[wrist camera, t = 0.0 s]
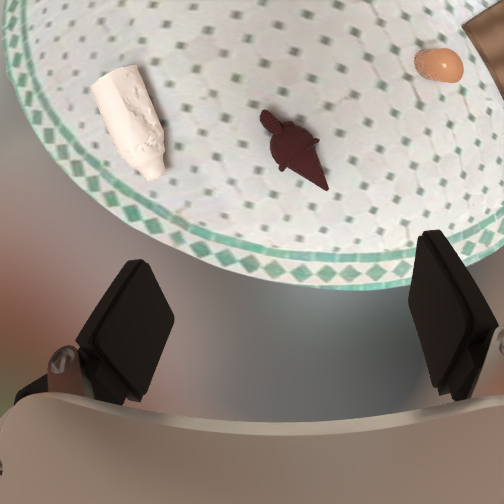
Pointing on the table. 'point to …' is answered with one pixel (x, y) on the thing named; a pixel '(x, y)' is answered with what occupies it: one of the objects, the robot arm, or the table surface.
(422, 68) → the terracotta cylinder
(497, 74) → the walnut board
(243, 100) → the table surface
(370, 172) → the table surface
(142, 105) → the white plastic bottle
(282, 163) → the dark brown tapered piece
